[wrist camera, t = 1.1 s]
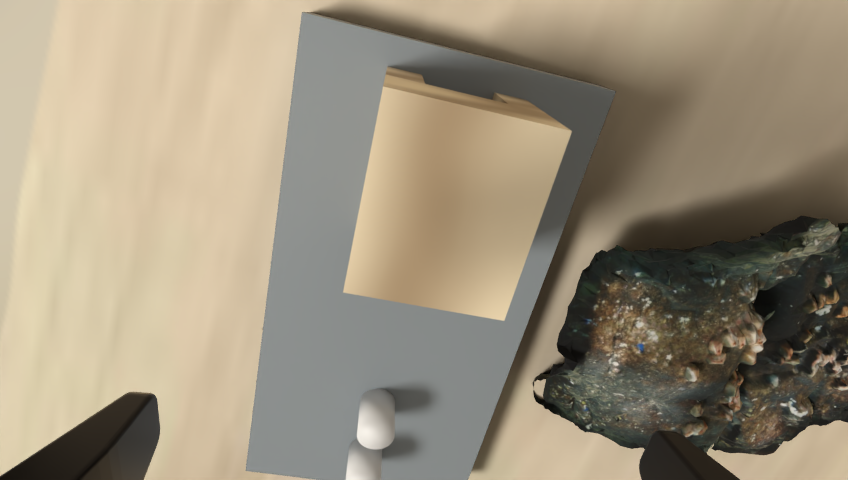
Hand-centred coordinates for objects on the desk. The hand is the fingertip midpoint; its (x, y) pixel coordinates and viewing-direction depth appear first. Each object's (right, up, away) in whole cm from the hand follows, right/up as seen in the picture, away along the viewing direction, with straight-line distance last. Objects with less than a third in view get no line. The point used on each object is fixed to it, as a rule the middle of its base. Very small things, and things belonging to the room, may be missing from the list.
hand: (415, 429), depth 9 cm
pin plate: (-1, +1, +13) cm, 13 cm away
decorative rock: (+15, -1, +16) cm, 22 cm away
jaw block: (+1, +6, +9) cm, 11 cm away
